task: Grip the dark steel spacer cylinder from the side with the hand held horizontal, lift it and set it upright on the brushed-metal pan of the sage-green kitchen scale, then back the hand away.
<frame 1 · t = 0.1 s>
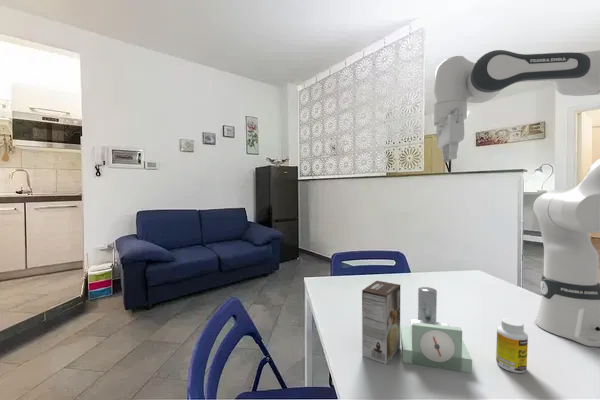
hand: (449, 160, 88), 48 cm above the table, tool pointing down, fingers open, 8 cm apart
spacer: (426, 332, 80), on the table
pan: (431, 333, 72), point 4 cm above the table, slide at -0.4 cm
coffee box: (381, 352, 71), on the table
supplement bottle: (511, 367, 65), on the table
scale: (432, 352, 71), on the table
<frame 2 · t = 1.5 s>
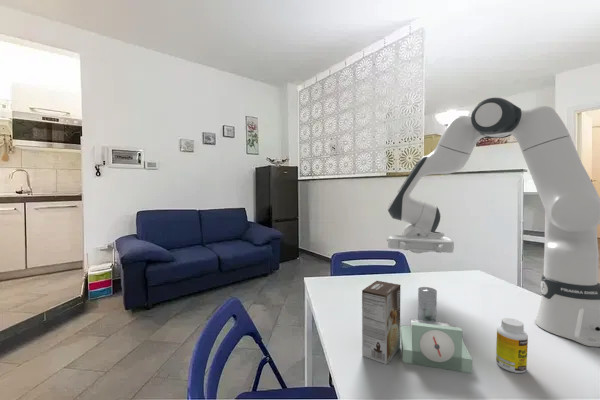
hand: (422, 248, 91), 21 cm above the table, tool horizontal, fingers open, 8 cm apart
nothing on the table moved.
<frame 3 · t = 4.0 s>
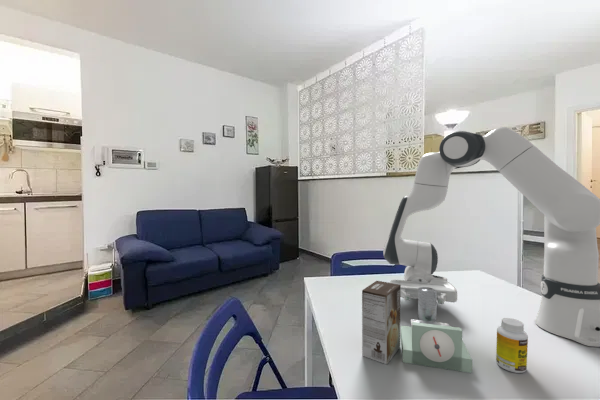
hand: (424, 299, 87), 6 cm above the table, tool horizontal, fingers open, 8 cm apart
nothing on the table moved.
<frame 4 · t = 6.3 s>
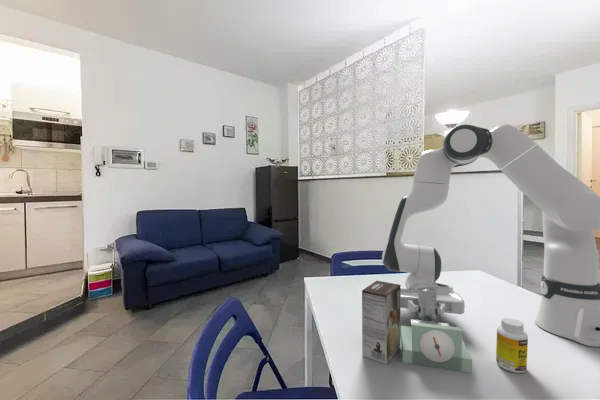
hand: (427, 311, 78), 7 cm above the table, tool horizontal, fingers closed on spacer, 5 cm apart
spacer: (426, 332, 80), on the table, touching gripper
everything else where it was.
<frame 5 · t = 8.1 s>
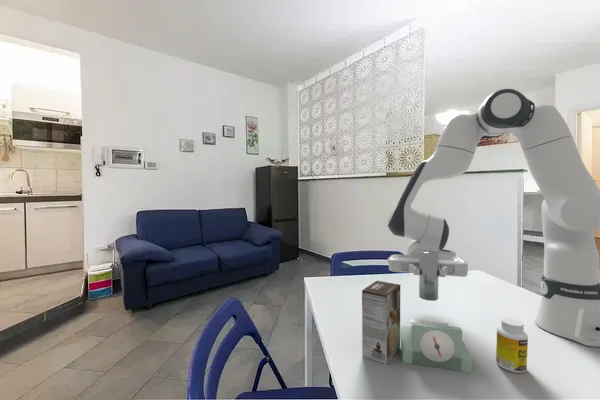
hand: (429, 273, 75), 18 cm above the table, tool horizontal, fingers closed on spacer, 5 cm apart
spacer: (428, 297, 77), point 11 cm above the table, touching gripper
everything else where it was.
when the fingers open (13 cm above the table, at t = 10.1 s): spacer stays where it is, resting on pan.
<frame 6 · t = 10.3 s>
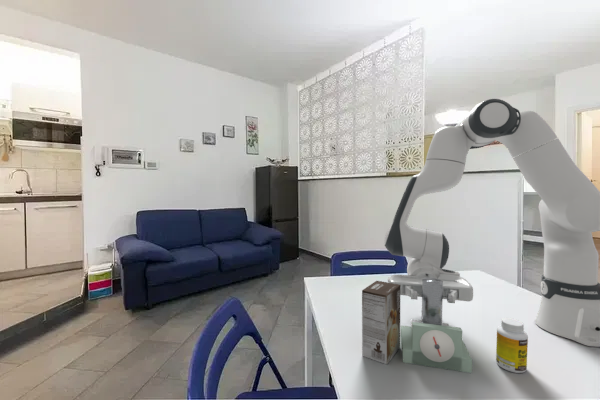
hand: (432, 298, 71), 13 cm above the table, tool horizontal, fingers open, 7 cm apart
spacer: (431, 328, 72), point 5 cm above the table, touching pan
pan: (431, 333, 72), point 4 cm above the table, slide at -0.5 cm, touching spacer
everything else where it was.
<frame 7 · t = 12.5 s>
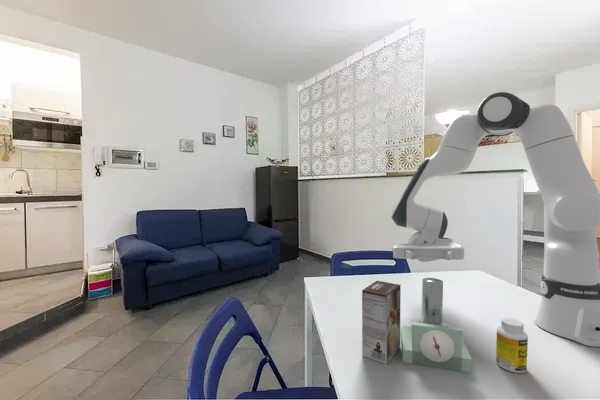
hand: (430, 256, 84), 20 cm above the table, tool horizontal, fingers open, 8 cm apart
nothing on the table moved.
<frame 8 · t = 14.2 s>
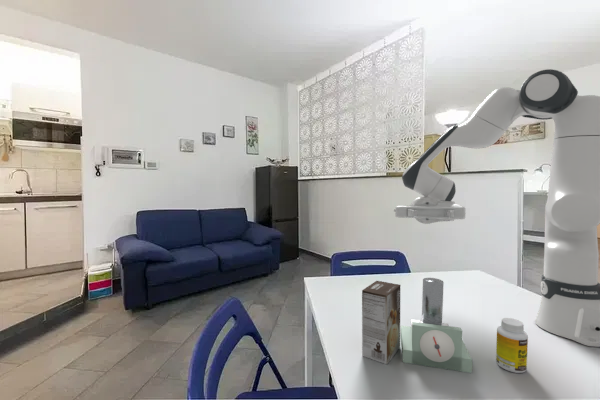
hand: (431, 214, 86), 32 cm above the table, tool horizontal, fingers open, 8 cm apart
nothing on the table moved.
at the end: spacer inside the target area on the scale (0.5 cm from its centre), point 5.1 cm above the scale's base; spacer tilted 1°; the gripper is holding nothing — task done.
